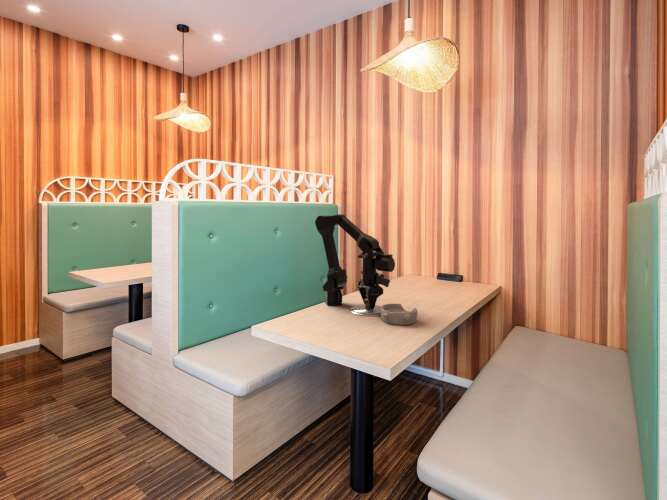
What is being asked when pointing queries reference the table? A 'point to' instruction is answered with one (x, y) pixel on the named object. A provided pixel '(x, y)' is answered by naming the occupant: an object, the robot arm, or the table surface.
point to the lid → (366, 309)
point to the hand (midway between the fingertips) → (368, 306)
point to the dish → (398, 314)
